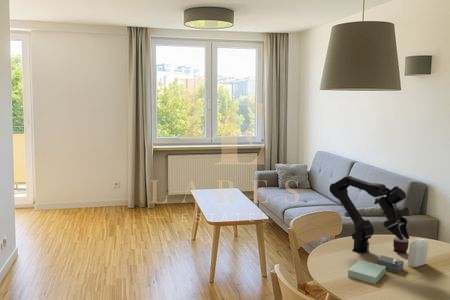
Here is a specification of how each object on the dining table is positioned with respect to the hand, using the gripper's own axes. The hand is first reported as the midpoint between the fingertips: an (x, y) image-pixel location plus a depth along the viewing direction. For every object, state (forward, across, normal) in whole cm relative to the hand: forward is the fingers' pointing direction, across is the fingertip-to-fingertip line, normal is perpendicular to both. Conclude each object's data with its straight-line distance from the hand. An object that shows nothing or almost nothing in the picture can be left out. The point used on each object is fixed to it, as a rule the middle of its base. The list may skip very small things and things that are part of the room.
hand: (405, 239), depth 200 cm
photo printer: (+12, +11, +4) cm, 16 cm away
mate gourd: (+3, +21, +12) cm, 24 cm away
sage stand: (+8, -15, +18) cm, 25 cm away
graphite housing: (+9, -1, +12) cm, 15 cm away
